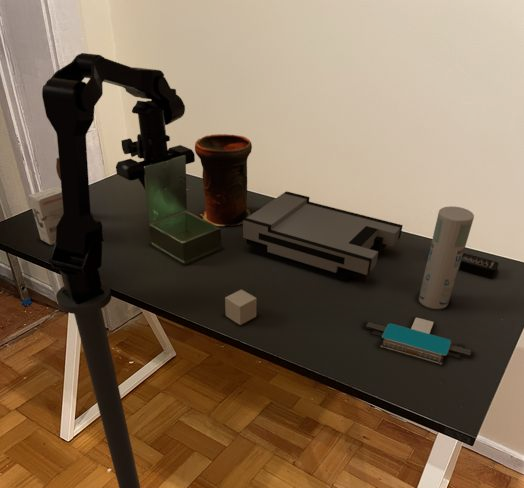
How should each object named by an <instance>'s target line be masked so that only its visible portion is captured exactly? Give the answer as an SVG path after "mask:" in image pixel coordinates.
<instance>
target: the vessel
mask: <svg viewBox="0 0 524 488" xmlns="http://www.w3.org/2000/svg"><path fill="white" fill-rule="evenodd" d="M252 149H253V145H252V141H251V140H250V139H249V138H248V137H246V136H243V135H238V134H237V135H236V134H226V133H224V134H221V133H219V134H210V135H205V136H202V137H201V138H198V139H197V140H196V141H195V144H194V151H195V152H194V153H195V154H196V156H197V157H198V158H199V160H200V164H201V167H202V175H201V177H202V184H203V193H204V200H205V210H204V211H203V213H200V214H199V215H200V217H202V219H203V220H205V221H207V222H209V223H211V224H213V225H215V226H217V227H225V226H228V227H229V226H230V227H234V226H240V225H243V220H244V219H246V218H247V217H249V216H250V215H252V213H251V212H250V209H249V208H247V207H248V206H247V205H248V203H247V202H248V200H247V199H248V159H249V156H250V154H251V153H252Z"/></svg>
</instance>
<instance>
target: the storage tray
mask: <svg viewBox="0 0 524 488" xmlns="http://www.w3.org/2000/svg"><path fill="white" fill-rule="evenodd" d="M148 227H149V236H150V243H151V246H152V247H154V248H155V249H157V250H159V251H161V253H164V255H165V254H166V255H167V256H169V257H171V258H172V259H174V260H176V261H177V262H179V263H180V264H182V265H183V266H186V265H188V264H190V263H194V262H196V261H197V260H200V259H203V258H204V257H207V256H209V255H212V254H214V253H216V252H219V251H221V250H222V231H221V230H222V229H221V227H220V226H215V225H213V224H211V223H209V222H207V221H205V220H203V218H201V217H199V216H197V215H195V214H193V213H191V212H190V211H187V210H185V211H182V212H179V213H176V214H173V215H171V216H168V217H165V218H162V219H159V220H156V221H154V222H151V223H148Z"/></svg>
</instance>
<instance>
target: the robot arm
mask: <svg viewBox="0 0 524 488" xmlns="http://www.w3.org/2000/svg"><path fill="white" fill-rule="evenodd" d="M84 79H88V81H87V82H85V81H84ZM103 83H107V84H111V85H113V86H118V87H121V88H123V89H124V91H126V93H128V94H129V95H131V96H133V97H134V98H140V99H145V100H146V101H144V100H137V101H136V103H135V105H134V106H133V107H132V109H131V113H132V114H135V115H137V118H138V126H139V134H137V135H136V141H133V140H132V138H126V139H122V140H120V141H121V142H120V143H121V150H122V153H123V154H124V155H129V154H130V157H131V158H127V159H123V160H119V161H118V162H117V163H116V165H115V171H116V172H115V173H116V175H118V176H120V177H122V178H123V179H126V180H127V181H135V180H136V181H137V180H138V181H139V182H140V184H141V185H142V187H143V189H144V190H145V178H144V166H147V165H151V164H154V163H158V162H161V161H165V160H168V159H172V158H176V157H179V156H183V155H185V156H186V165H189V164H192V163H195V162H196V157H195V152H194V151H193V150H192V148H189V147H187V146H184V145H181V144H179V145H175V146H171V147H169V148H168V142H170V141H171V137H170V135H168V134H167V129H166V126H168V125H170V124H172V123H173V122H175V121H177V120H179V119H181V118H182V117H183V116H184V115H185V112H186V105H185V103H184V101H183V99H182V98H181V96H179V95H178V94H177V90H176V88H171V86H170V84H169V82H168V80H167V79H166V77H165V74H164V71H162V70H160V69H153V68H145V67H134V66H133V67H131V66H129V65H127V64H123V63H120V62H117V61H114V60H111V59H110V58H109V59H108V58H106V57H104V56H102V55H101V54H95V53H85V52H81V53H78V54H77V55H76V56H75V57H74V58H73V60H72V61H71V62H69V63H68V64H67V65H65V66H62V68H60V69H58V70H57V71H55V72H54V74H53V75H52V76H51V77H50V78H49V79H48V80H46V82H45V84H44V85H42V89H41V97H42V102H43V107H44V111H45V116H46V119H47V120H48V121H49V123H50V125H51V126H52V128H53V130H54V131H55V134H56V140H57V151H58V158H59V165H60V177H61V180H60V186H61V189H62V201H63V215H62V217H61V219H60V221H59V223H58V224H57V227H56V241H55V244H53V247H52V251H51V254H50V256H49V260H48V262H49V264H50V266H51V268H53V269H58V270H59V273H60V277H61V280H62V284H63V286H64V288H65V289H64V290H62V293H63V294H64V295H66V296H67V297H68V298H69V299H71V300H72V301H73V302H74V303H75V304H80V303H83V302H85V301H87V300H90V299H92V298H95V297H97V296H99V295H102V294H104V290H103V289H101V288H100V287H101V286H102V285H101V281H102V280H101V275H100V271H99V269H100V268H101V267H102V263H103V261H102V260H103V259H102V257H103V243H104V241H105V240H104V237H103V224H102V221H100V220H95V219H94V217H93V215H92V212H91V201H90V200H91V198H90V197H91V196H90V182H89V167H88V165H89V164H88V149H87V134H88V132H89V130H90V128H91V126H92V124H93V122H94V120H95V107H96V105H97V103H98V102H99V100H100V99H101V98H102V96H103V93H104V92H103V90H104V89H103ZM136 156H137V158H138V159H143V160H141V161H137V160H134V159H132V158H134V157H136Z"/></svg>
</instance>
